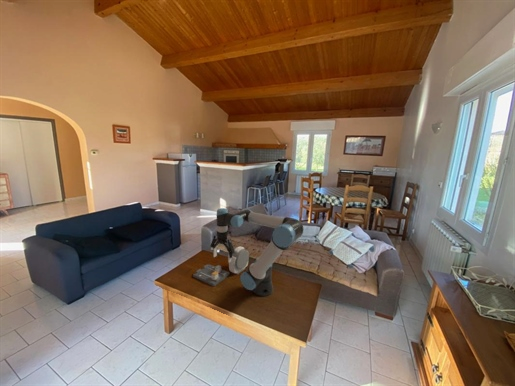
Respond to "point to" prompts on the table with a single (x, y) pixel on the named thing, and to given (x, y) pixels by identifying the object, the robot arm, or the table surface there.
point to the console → (210, 275)
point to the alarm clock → (239, 260)
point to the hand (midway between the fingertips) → (222, 259)
